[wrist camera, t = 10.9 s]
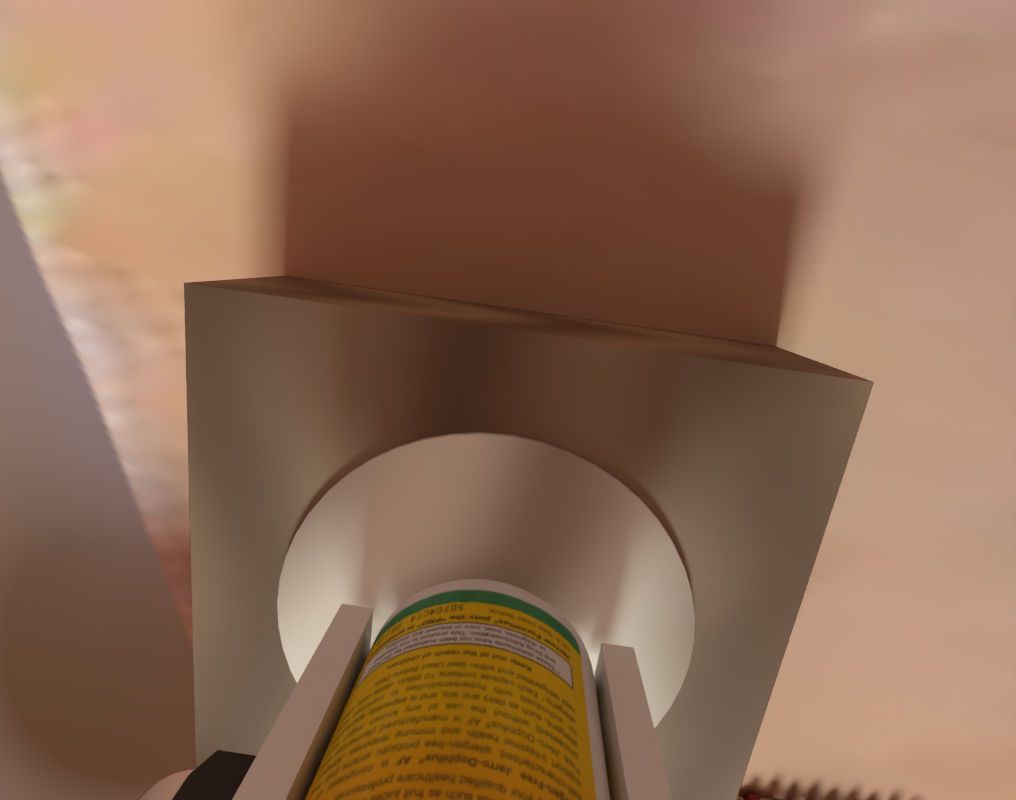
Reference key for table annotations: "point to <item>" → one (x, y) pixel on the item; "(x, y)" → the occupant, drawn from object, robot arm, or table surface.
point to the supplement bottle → (470, 705)
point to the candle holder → (166, 787)
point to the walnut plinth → (502, 493)
